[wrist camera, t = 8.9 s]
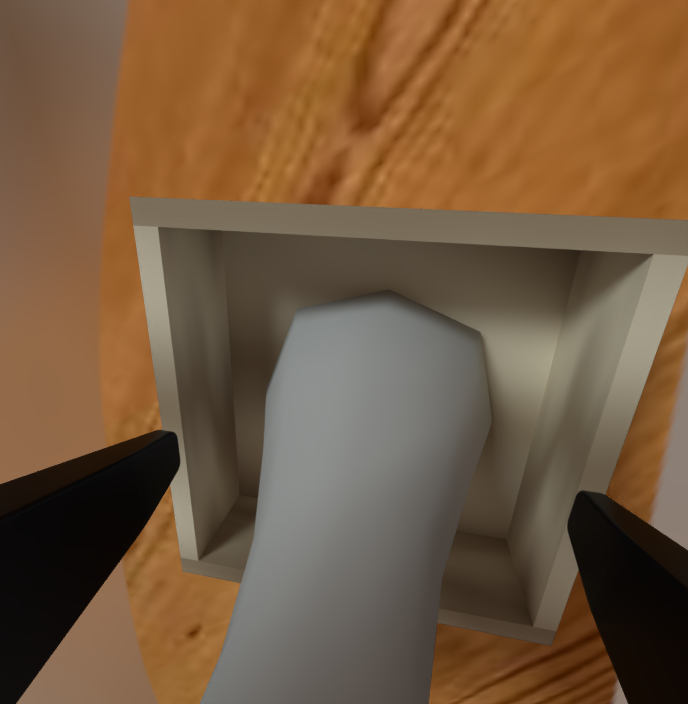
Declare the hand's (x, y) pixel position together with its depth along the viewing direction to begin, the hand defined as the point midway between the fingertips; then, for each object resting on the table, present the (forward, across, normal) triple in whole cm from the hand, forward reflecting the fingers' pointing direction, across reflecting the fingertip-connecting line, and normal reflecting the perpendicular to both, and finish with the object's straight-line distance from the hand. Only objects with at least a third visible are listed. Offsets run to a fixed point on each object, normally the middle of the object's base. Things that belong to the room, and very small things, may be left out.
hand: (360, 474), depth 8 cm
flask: (+4, 0, 0) cm, 4 cm away
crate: (+5, 0, 0) cm, 5 cm away
